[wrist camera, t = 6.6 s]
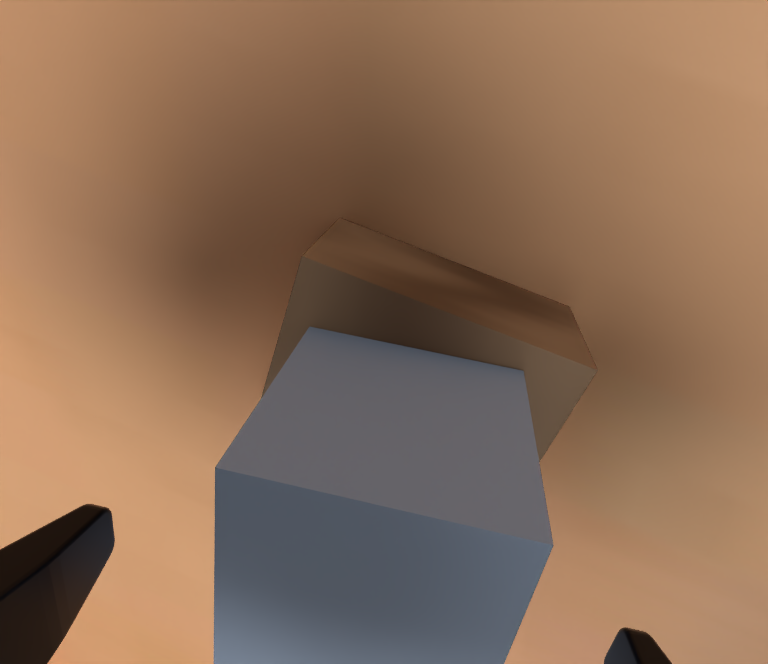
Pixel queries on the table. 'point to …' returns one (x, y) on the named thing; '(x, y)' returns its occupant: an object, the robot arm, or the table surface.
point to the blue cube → (379, 511)
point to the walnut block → (438, 316)
